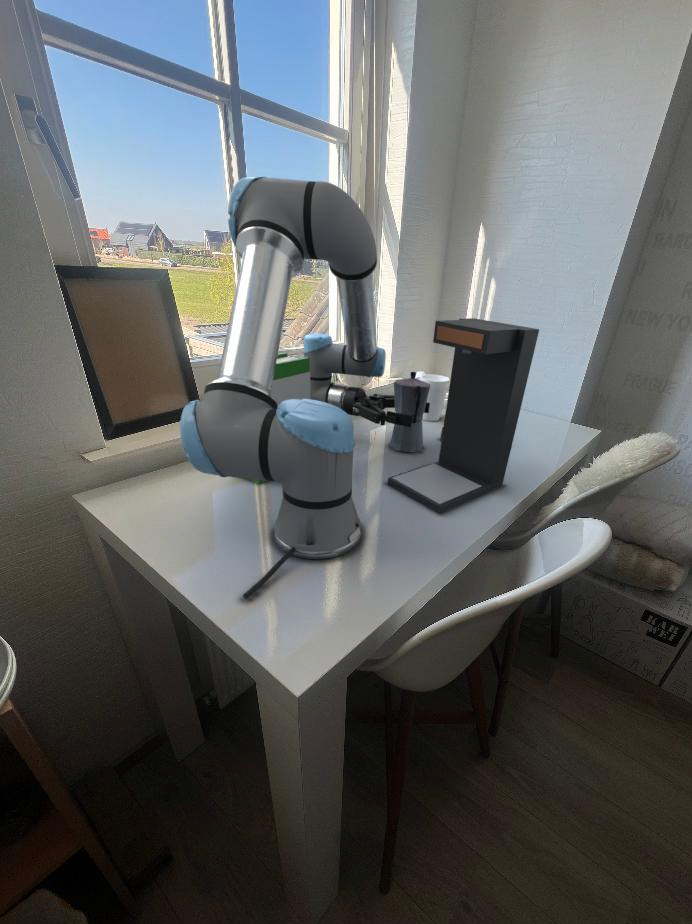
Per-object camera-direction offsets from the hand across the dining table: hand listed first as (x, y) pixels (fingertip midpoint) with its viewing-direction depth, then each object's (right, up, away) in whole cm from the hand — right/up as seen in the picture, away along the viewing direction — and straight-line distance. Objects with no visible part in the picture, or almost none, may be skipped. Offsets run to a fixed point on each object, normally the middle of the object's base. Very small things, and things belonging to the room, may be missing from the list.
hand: (420, 414), depth 108 cm
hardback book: (-35, -15, -9) cm, 39 cm away
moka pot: (-3, -8, +6) cm, 10 cm away
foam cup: (+6, +6, +30) cm, 31 cm away
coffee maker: (+5, -19, -12) cm, 23 cm away
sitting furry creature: (+3, +13, +42) cm, 44 cm away
